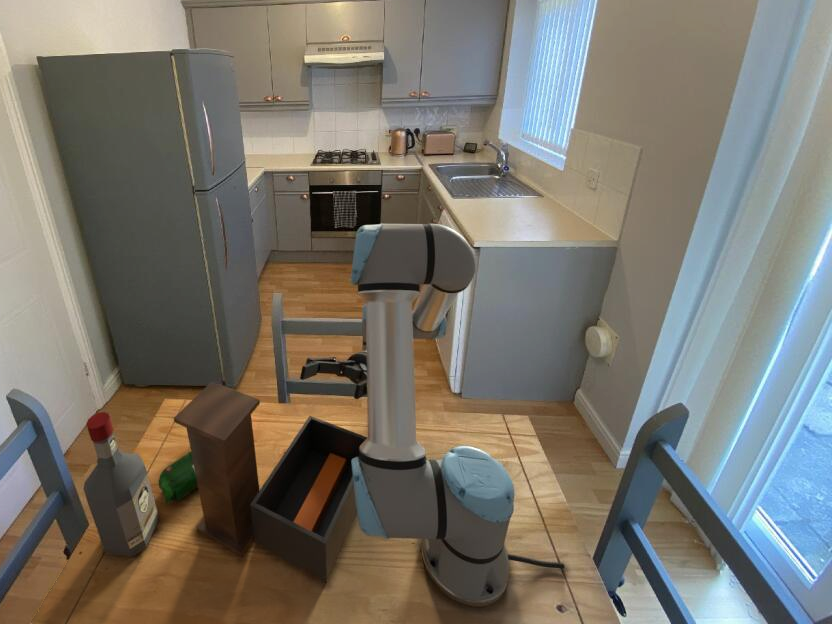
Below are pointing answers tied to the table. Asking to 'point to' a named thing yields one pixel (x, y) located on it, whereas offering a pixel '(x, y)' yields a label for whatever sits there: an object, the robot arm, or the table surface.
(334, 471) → the orange bar
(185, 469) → the snack package
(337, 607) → the table surface
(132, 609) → the table surface
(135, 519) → the liquor
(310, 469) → the dark grey open box
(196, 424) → the wooden pedestal column
